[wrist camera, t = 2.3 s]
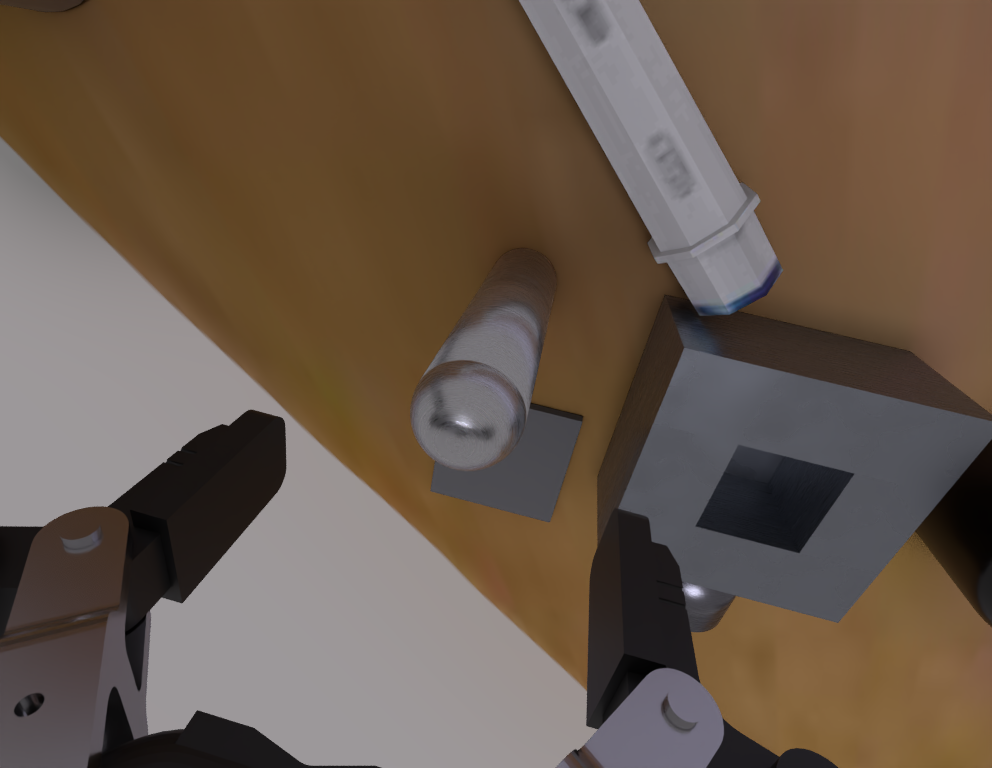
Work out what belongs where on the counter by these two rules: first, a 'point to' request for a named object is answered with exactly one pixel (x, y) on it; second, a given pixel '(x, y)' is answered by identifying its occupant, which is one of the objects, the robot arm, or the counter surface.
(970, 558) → the ink bottle
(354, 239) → the counter surface
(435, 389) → the grey metal cylinder
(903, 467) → the block
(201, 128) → the counter surface
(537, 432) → the key rest mat
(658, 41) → the white elongated piece
